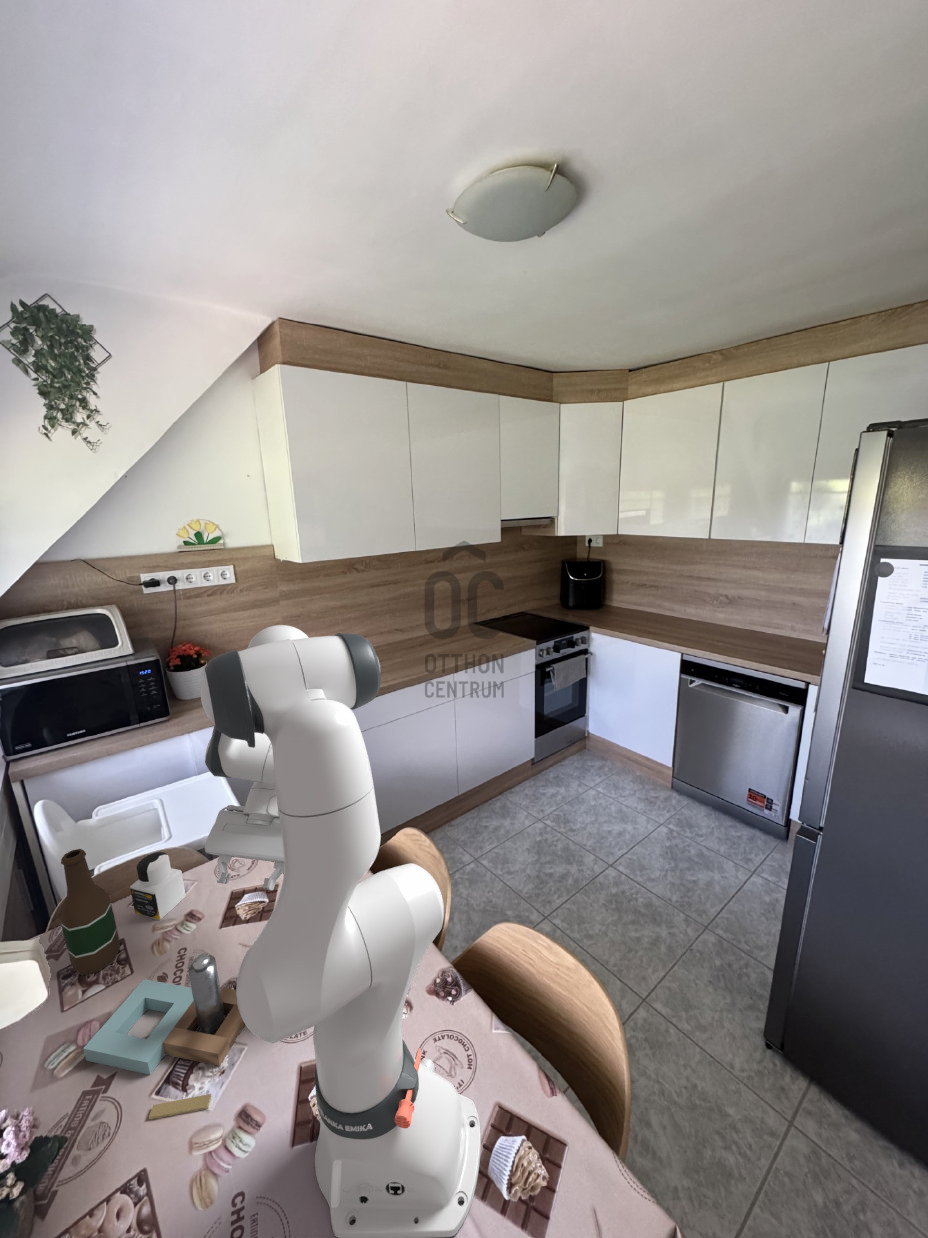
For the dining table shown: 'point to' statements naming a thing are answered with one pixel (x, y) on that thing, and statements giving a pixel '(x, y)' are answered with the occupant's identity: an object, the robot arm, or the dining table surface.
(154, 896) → the medicine bottle
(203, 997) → the silver metal cylinder
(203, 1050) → the socket block
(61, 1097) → the dining table surface
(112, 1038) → the block
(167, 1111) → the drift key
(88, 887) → the beer bottle
